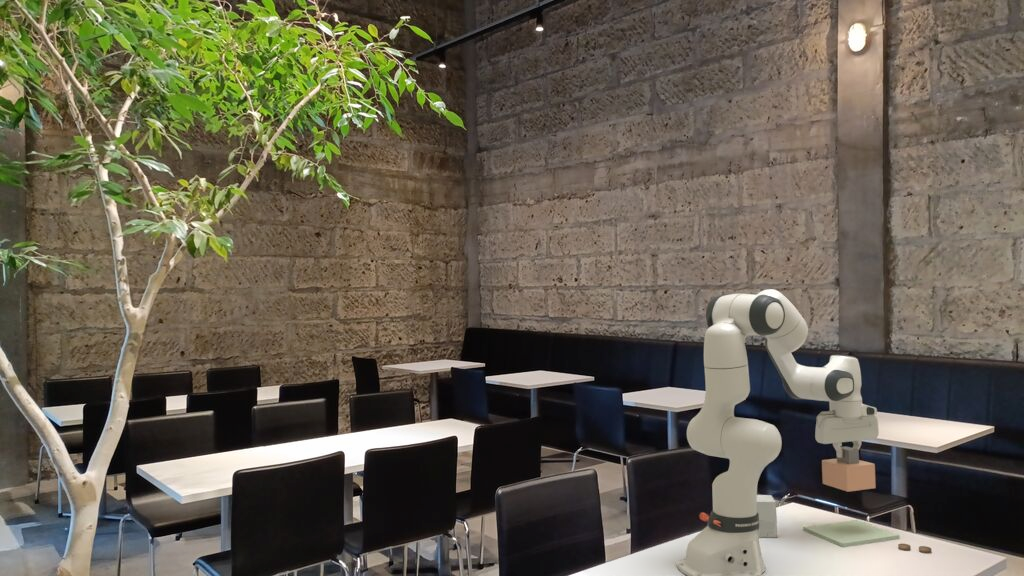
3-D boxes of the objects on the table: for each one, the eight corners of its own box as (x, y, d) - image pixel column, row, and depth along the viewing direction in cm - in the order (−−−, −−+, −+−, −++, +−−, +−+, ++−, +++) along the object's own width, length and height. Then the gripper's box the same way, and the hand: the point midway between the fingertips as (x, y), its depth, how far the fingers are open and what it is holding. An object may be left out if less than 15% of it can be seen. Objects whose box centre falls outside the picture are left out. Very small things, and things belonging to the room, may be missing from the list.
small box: (777, 538, 210) (776, 501, 210) (757, 537, 211) (756, 501, 211) (773, 529, 218) (772, 494, 218) (753, 529, 219) (752, 494, 219)
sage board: (842, 547, 201) (842, 543, 201) (803, 530, 216) (803, 527, 216) (899, 538, 207) (899, 535, 207) (857, 523, 222) (857, 519, 222)
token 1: (905, 552, 196) (905, 547, 196) (895, 549, 199) (895, 544, 199) (913, 550, 197) (913, 546, 197) (903, 547, 200) (902, 542, 200)
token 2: (926, 554, 194) (925, 550, 194) (916, 551, 197) (916, 547, 197) (934, 553, 195) (934, 548, 195) (924, 549, 198) (924, 545, 198)
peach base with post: (847, 491, 205) (846, 453, 206) (822, 483, 215) (821, 446, 215) (875, 488, 208) (874, 450, 209) (849, 480, 218) (848, 443, 218)
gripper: (824, 413, 206) (826, 461, 206) (881, 408, 212) (883, 455, 212) (809, 410, 212) (811, 457, 212) (865, 405, 218) (866, 451, 218)
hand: (847, 456), depth 212 cm, fingers closed on peach base with post, 3 cm apart
